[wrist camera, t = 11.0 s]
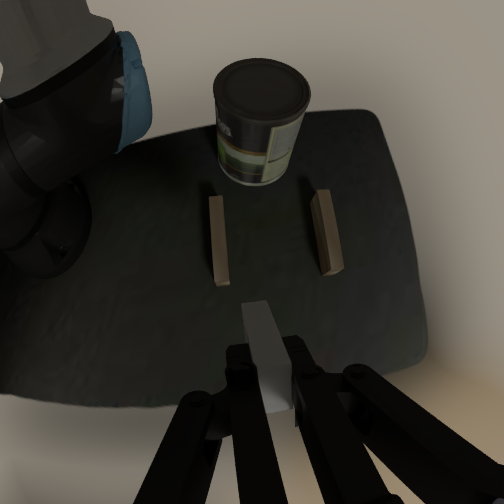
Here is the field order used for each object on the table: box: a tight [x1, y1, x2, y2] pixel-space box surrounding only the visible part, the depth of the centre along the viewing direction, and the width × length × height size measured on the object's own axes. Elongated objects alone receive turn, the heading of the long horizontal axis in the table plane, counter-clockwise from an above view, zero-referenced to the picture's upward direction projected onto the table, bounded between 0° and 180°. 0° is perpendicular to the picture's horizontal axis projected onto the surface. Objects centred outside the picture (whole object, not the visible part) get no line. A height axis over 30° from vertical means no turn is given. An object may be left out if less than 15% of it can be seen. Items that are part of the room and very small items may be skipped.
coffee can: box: [213, 58, 311, 186], centre depth 35 cm, size 10×10×14 cm
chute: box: [209, 190, 344, 286], centre depth 36 cm, size 15×10×4 cm
